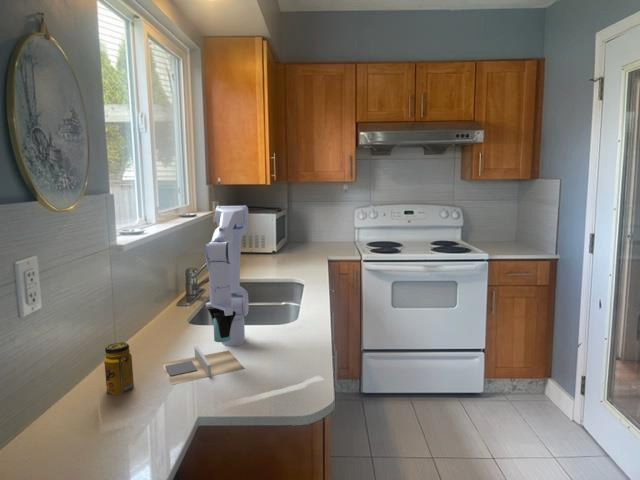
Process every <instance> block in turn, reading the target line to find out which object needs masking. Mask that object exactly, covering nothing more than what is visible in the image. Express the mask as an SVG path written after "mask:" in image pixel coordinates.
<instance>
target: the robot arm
mask: <svg viewBox="0 0 640 480" xmlns="http://www.w3.org/2000/svg"><path fill="white" fill-rule="evenodd" d="M214 214H215V215H214V216H215V217H214V218H215V224H216V226H217V228H215V229H214V232H213V234H212V238H211V240H210V242H208V243H206V244H205V248H204V257H205V262H206V269H207V271H208V286H209V287H208V288H209V290H208V291H209V301H208V302H206V303H205V306H206V307H207V311H208V312H209V314H210V317H211V320H212V321H213V318H216V320H217V323H218V327H219V333H220V336H221V338H226V337H229V334H231V339H230V340H229V341H227V342H221V345H223V346H226V347H227V346H229V347H234V346H235V347H236V346H240V345H242V344H244V343H245V342H246V336H245V335H246V334H245V333H246V331H245V330H246V329H245V317H246V316H247V315H248V314H249V304H250V303H249V293H248V291H247V290H246V289H245V288H244V287H242V286H241V283H240V282H241V280H240V279H241V278H240V277H241V275H240V274H241V252H242V251H241V249H242V245H241V244H242V239H243V236H244V235H246V234H247V233H248V230H249V219H250V218H249V208H248V206H247V205H245V204H244V205H217V206H216V208H215V211H214ZM212 323H213V322H212ZM213 325H214V323H213Z"/></svg>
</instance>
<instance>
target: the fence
mask: <svg viewBox="0 0 640 480" xmlns="http://www.w3.org/2000/svg"><path fill="white" fill-rule="evenodd" d="M204 355H205V354H203V352H202V351H201V350H200V348H199V346H194V357H195V358H196V359H197V361H198V362H199V364H200V365H201V367H202V368H203V370H204V371H205V373H206V374H207V376H208V377H207V378H210V377H212V376H211V365H210V363H209V362H208V360H207V359H206V358H205V356H204ZM209 376H210V377H209Z"/></svg>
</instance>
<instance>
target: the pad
mask: <svg viewBox="0 0 640 480" xmlns="http://www.w3.org/2000/svg"><path fill="white" fill-rule="evenodd" d="M165 367H166V369H167V371H168V373H169V376H170V377H171V376H176V375H180V374H185V373H190V372H195V371H197V368H196V367H195V365H194V364H193V362H192V361H188V362H182V363H177V364H172V365H167V366H165Z"/></svg>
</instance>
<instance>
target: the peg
mask: <svg viewBox="0 0 640 480" xmlns="http://www.w3.org/2000/svg"><path fill="white" fill-rule="evenodd" d="M212 323H214V324H213V339H214V340H213V341H214V342H215V343H222V342H227V341H229V340H230V339H231V334H229V337H226V338H221V336H220V333H219V327H218V323H217V320H216V318H213V320H212Z"/></svg>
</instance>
